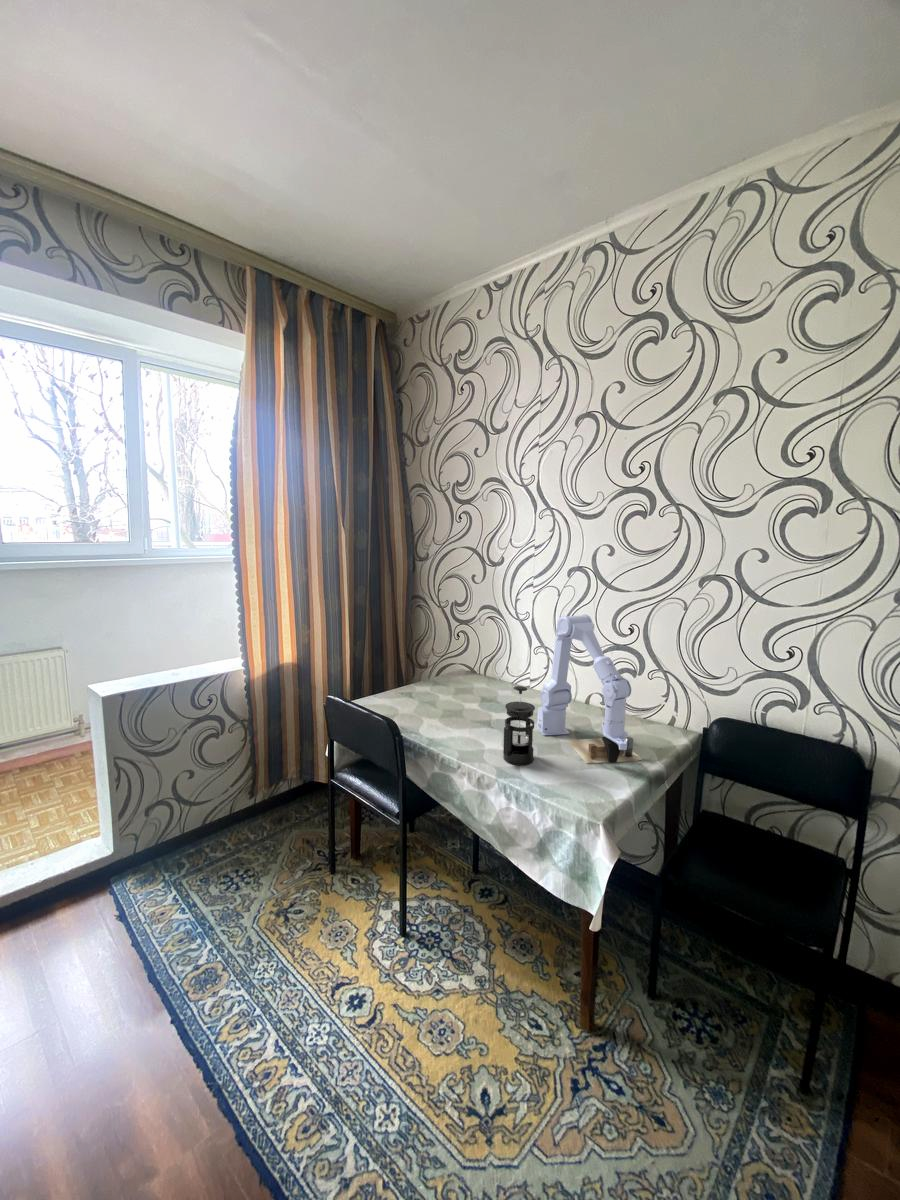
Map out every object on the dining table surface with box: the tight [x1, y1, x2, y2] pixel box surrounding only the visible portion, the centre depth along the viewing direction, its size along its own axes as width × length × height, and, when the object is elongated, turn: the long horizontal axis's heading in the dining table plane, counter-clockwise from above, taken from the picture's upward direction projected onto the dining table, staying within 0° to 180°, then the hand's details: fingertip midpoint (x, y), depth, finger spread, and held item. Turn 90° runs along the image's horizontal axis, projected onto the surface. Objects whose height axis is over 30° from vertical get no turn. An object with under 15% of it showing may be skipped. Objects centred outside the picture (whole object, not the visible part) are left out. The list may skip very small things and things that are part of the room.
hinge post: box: [624, 736, 634, 757], centre depth 153 cm, size 2×2×6 cm
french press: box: [502, 685, 536, 767], centre depth 150 cm, size 12×9×23 cm
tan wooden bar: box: [588, 744, 624, 758], centre depth 152 cm, size 11×2×4 cm, turn 98°
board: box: [566, 737, 643, 765], centre depth 158 cm, size 18×16×1 cm
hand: (612, 761), depth 147 cm, fingers closed
